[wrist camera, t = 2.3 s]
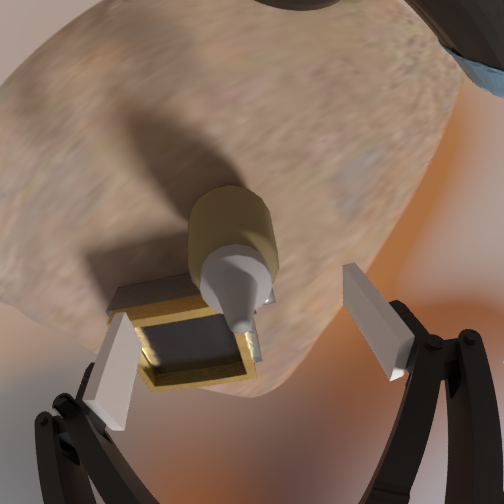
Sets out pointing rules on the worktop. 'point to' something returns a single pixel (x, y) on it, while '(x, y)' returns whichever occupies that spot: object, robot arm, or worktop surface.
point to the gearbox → (185, 336)
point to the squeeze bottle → (232, 253)
